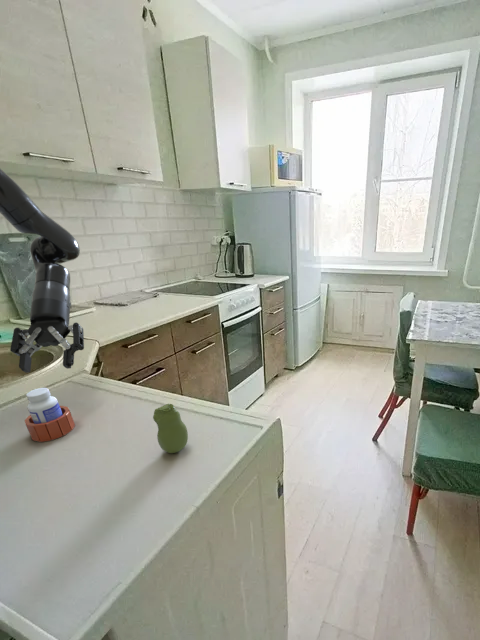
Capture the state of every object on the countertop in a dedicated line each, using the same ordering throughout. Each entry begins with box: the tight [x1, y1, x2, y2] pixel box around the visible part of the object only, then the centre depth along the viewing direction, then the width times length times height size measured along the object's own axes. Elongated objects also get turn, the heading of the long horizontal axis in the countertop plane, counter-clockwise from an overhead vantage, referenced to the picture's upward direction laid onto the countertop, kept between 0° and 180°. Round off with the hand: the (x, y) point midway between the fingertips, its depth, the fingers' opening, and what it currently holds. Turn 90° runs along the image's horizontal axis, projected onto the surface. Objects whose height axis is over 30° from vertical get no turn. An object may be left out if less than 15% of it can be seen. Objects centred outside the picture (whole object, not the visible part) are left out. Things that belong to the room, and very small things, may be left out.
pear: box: [152, 403, 189, 454], centre depth 67 cm, size 6×5×10 cm
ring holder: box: [24, 405, 76, 443], centre depth 77 cm, size 8×8×4 cm
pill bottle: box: [25, 387, 63, 424], centre depth 76 cm, size 5×5×10 cm
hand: (46, 369), depth 78 cm, fingers open, 8 cm apart
